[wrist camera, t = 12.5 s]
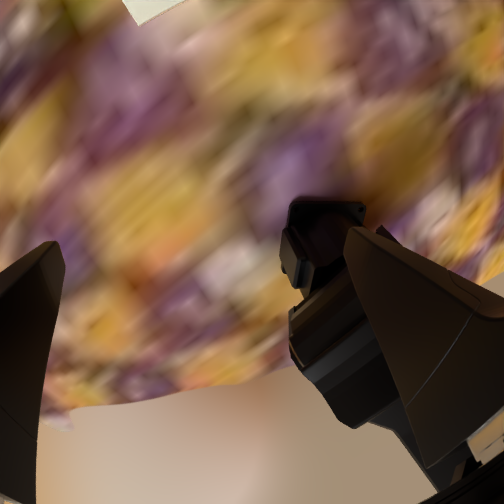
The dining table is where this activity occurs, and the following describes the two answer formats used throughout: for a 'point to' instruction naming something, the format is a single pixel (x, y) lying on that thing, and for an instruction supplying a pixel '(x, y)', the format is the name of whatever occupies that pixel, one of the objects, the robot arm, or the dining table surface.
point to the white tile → (149, 8)
